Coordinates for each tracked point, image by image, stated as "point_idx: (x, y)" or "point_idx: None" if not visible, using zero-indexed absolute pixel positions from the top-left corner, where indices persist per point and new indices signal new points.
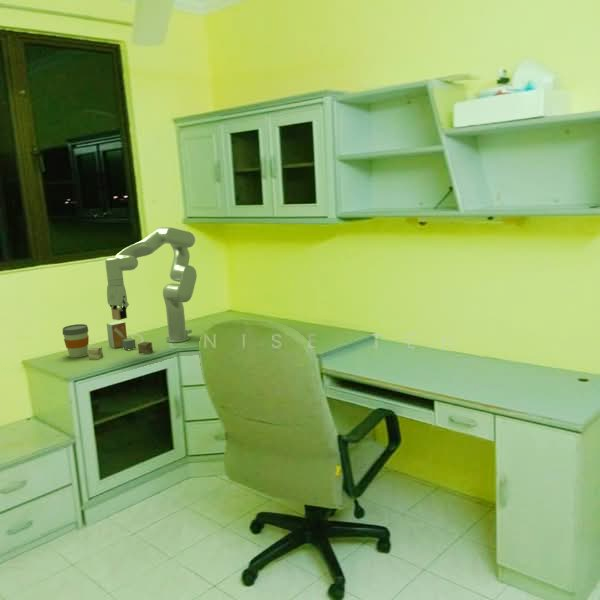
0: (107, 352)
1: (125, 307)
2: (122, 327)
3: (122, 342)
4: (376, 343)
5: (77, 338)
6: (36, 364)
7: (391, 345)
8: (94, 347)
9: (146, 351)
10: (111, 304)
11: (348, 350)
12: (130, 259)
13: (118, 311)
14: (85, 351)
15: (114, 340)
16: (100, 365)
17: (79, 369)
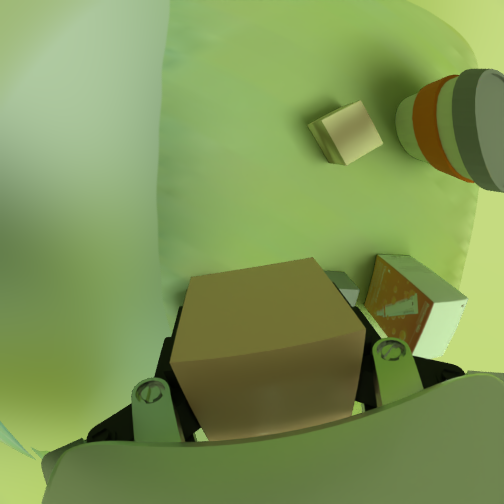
0: (358, 206)
1: (88, 437)
2: (403, 337)
3: (352, 284)
4: (19, 447)
5: (442, 95)
6: (420, 9)
7: (9, 442)
8: (369, 141)
9: (185, 295)
10: (382, 413)
11: (3, 426)
12: None
13: (176, 353)
14: (404, 134)
15: (391, 271)
16: (205, 80)
17: (235, 12)
